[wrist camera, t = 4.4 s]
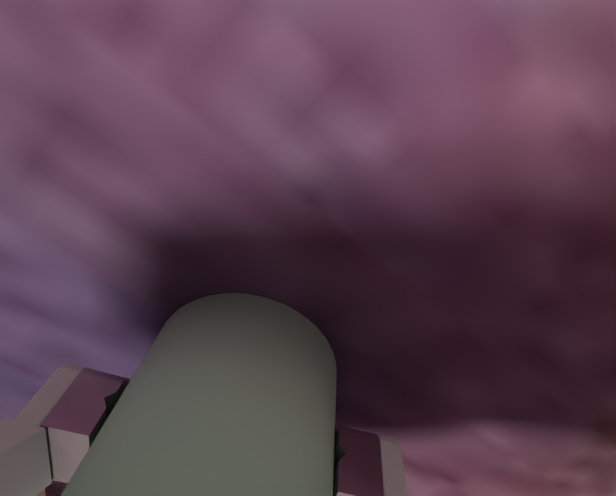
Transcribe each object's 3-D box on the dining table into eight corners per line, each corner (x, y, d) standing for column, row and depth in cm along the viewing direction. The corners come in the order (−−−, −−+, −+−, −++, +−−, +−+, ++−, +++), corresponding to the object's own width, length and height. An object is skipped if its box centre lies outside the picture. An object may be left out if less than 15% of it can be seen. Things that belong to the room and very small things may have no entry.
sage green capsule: (359, 319, 10) (367, 538, 6) (313, 444, 13) (294, 664, 8) (161, 272, 10) (21, 461, 6) (152, 407, 13) (48, 613, 8)
